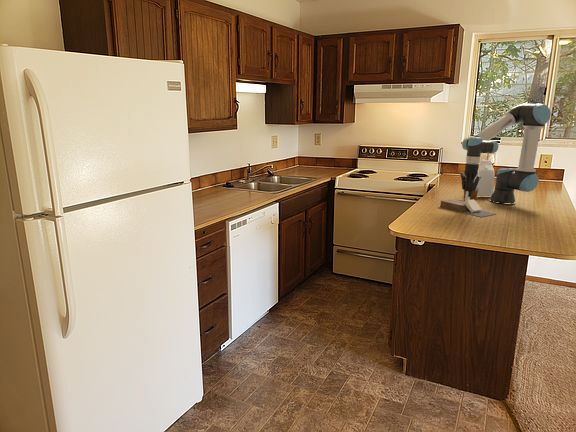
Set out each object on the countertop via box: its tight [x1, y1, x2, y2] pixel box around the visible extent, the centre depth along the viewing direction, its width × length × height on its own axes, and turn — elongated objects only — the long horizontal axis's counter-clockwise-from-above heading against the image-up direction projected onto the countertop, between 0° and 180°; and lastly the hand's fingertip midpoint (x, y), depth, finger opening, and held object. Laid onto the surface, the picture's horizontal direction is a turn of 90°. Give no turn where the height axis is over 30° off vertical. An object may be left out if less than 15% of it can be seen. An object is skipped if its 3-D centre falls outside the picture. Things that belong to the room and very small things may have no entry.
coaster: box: [464, 199, 483, 213], centre depth 258 cm, size 8×8×2 cm
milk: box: [474, 159, 496, 196], centre depth 306 cm, size 12×12×26 cm
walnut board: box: [439, 198, 470, 213], centre depth 267 cm, size 14×16×4 cm
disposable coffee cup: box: [463, 187, 479, 201], centre depth 278 cm, size 10×10×12 cm
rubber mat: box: [462, 209, 496, 218], centre depth 255 cm, size 15×12×1 cm
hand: (467, 201), depth 261 cm, fingers closed
